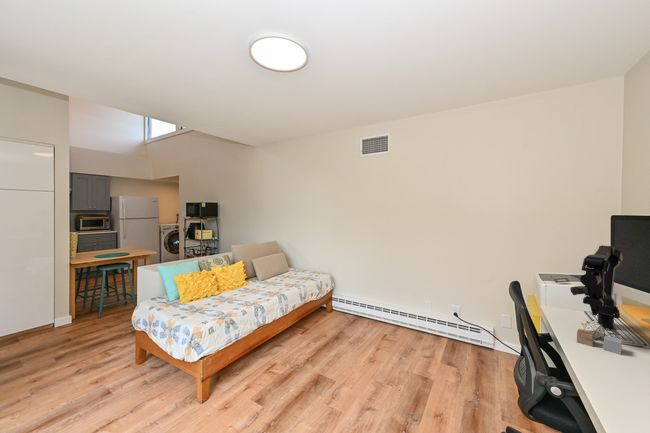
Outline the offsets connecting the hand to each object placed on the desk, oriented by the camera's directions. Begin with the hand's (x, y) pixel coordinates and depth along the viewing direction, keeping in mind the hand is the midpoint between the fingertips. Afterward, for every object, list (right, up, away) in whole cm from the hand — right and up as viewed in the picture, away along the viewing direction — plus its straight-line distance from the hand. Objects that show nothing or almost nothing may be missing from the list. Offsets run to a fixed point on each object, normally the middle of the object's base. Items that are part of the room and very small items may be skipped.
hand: (594, 315), depth 124 cm
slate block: (-3, -12, -10) cm, 16 cm away
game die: (0, -11, 0) cm, 11 cm away
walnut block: (-8, -11, -4) cm, 14 cm away
